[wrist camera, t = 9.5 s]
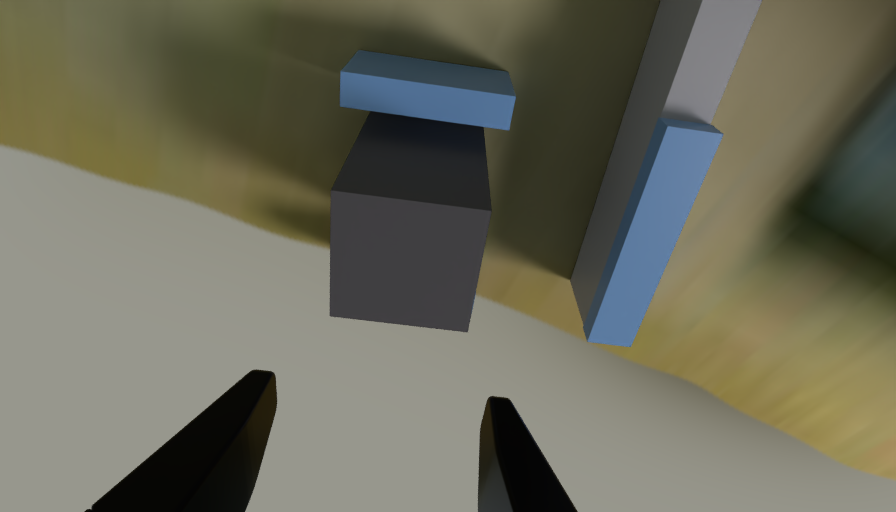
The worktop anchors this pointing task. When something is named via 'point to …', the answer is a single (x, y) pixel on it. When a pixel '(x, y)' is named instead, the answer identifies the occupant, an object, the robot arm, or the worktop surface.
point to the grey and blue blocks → (634, 153)
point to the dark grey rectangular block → (410, 223)
